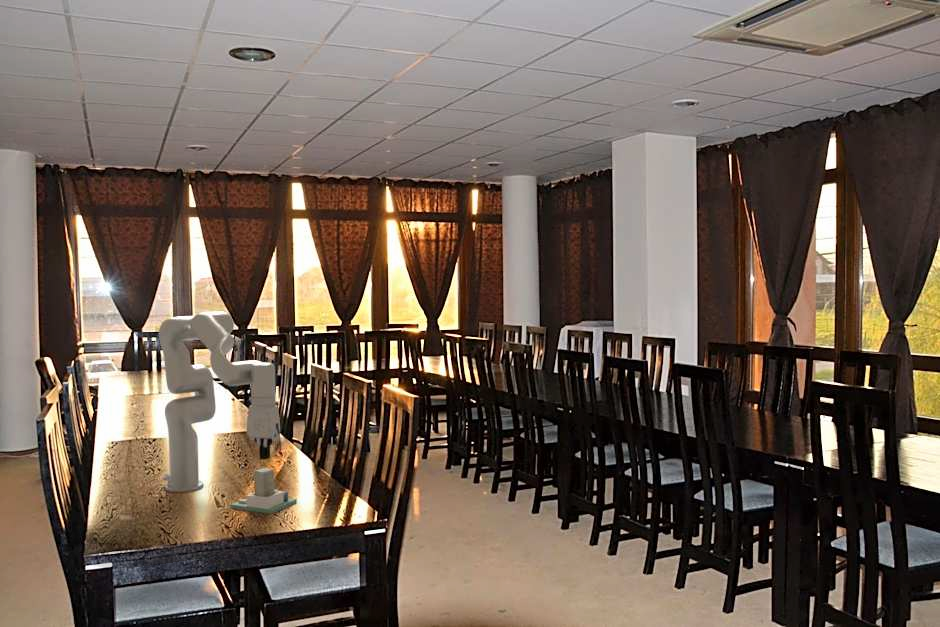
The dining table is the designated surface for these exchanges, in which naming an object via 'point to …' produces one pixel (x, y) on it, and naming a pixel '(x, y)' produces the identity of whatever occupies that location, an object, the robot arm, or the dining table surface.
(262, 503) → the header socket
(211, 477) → the dining table surface
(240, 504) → the board
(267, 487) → the box
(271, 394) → the robot arm
